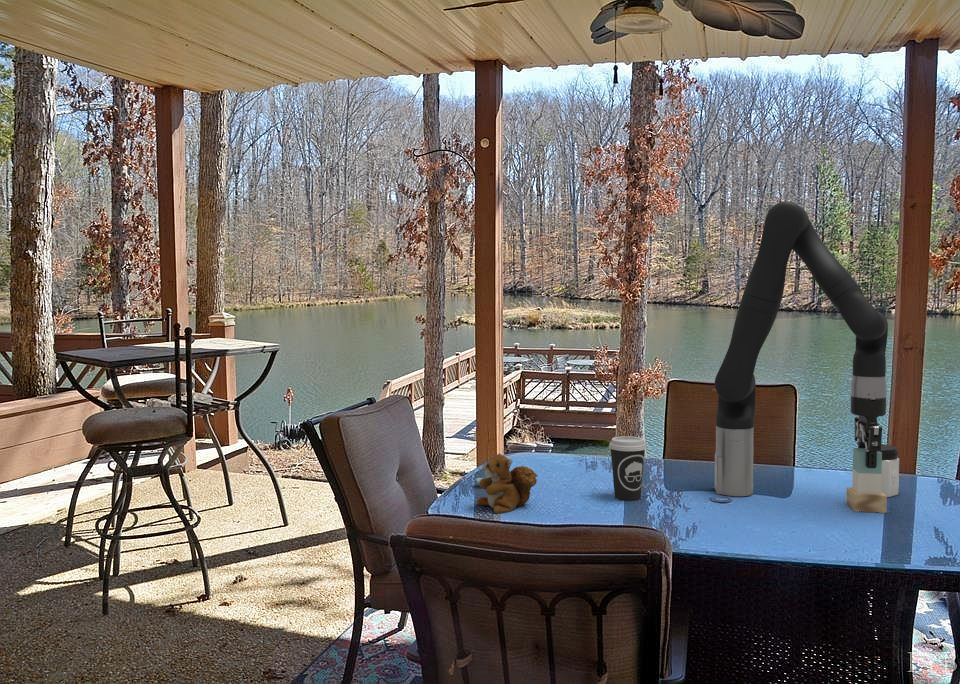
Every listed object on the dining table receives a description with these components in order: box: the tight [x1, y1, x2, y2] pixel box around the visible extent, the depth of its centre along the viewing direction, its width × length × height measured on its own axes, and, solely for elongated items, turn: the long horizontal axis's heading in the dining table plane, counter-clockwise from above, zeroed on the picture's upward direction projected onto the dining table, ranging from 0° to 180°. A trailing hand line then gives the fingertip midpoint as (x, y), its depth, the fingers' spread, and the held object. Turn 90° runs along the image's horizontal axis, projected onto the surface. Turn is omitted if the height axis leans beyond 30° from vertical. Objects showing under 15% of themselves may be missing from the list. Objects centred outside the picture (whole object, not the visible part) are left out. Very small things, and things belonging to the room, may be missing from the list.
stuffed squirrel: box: [476, 453, 539, 515], centre depth 189 cm, size 10×14×13 cm
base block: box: [845, 486, 888, 514], centre depth 184 cm, size 7×7×4 cm
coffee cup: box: [608, 435, 648, 502], centre depth 196 cm, size 10×10×15 cm
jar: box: [872, 443, 900, 498], centre depth 197 cm, size 9×8×12 cm
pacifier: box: [475, 468, 492, 485], centre depth 208 cm, size 7×6×6 cm
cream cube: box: [851, 468, 882, 495], centre depth 183 cm, size 5×5×5 cm
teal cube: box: [852, 447, 882, 474], centre depth 183 cm, size 5×5×5 cm
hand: (866, 464), depth 183 cm, fingers open, 6 cm apart
